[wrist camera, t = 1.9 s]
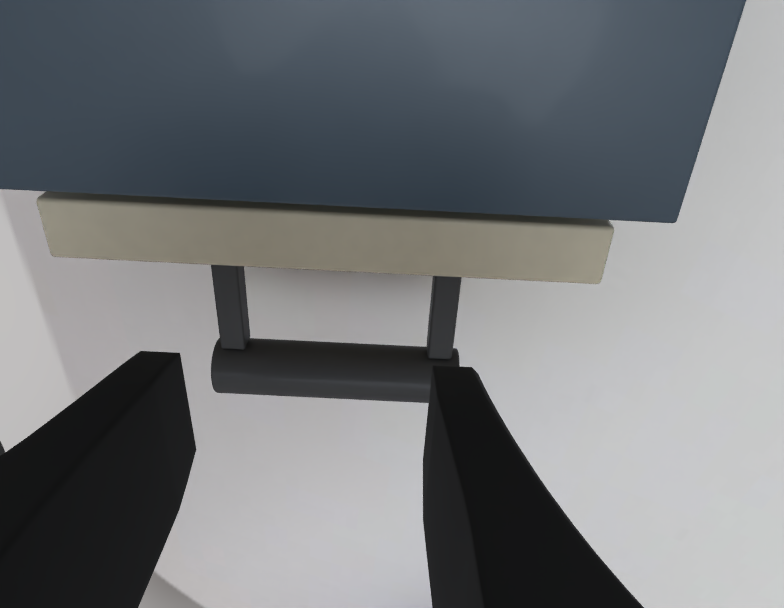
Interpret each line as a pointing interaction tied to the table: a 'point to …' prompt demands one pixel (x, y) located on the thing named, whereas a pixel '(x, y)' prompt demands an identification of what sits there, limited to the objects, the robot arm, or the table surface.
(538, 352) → the table surface
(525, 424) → the table surface
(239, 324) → the drawer
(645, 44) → the cabinet
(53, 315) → the table surface
